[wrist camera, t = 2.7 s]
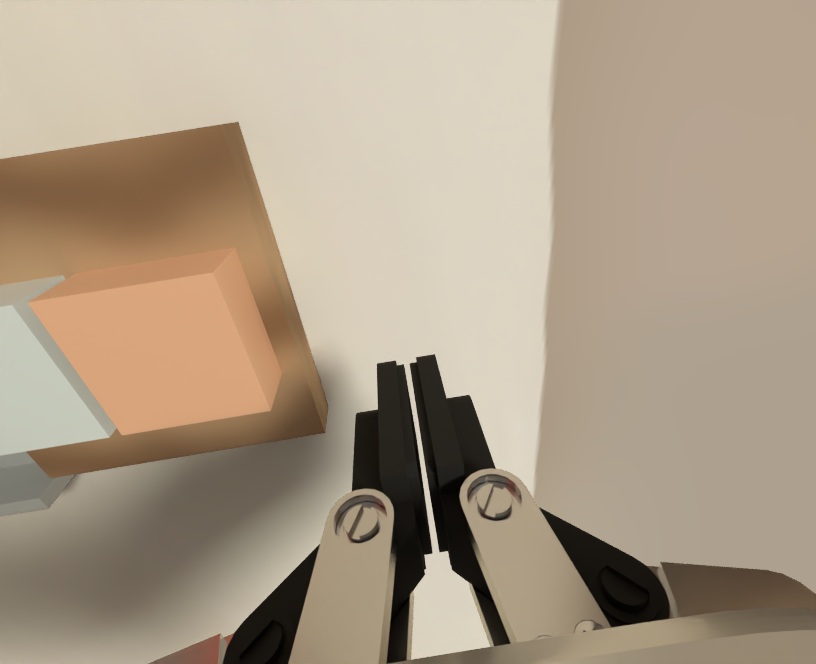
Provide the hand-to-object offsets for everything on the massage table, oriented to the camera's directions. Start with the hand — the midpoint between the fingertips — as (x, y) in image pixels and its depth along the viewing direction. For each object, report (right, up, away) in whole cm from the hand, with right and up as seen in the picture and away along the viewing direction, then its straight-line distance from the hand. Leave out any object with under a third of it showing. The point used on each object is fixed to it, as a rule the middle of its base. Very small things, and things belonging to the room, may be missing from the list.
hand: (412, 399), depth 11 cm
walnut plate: (-12, +3, +7) cm, 14 cm away
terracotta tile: (-9, +2, +5) cm, 11 cm away
